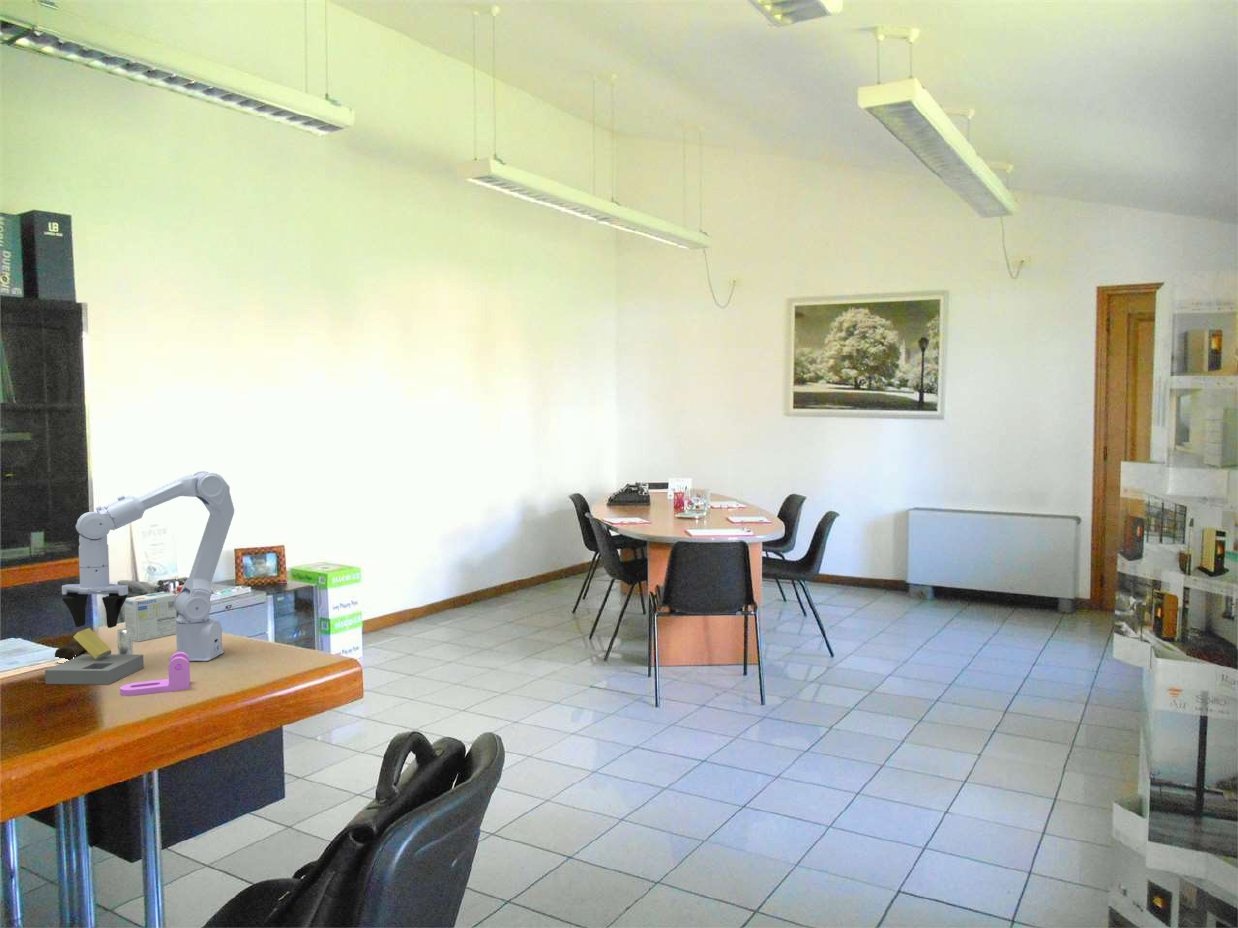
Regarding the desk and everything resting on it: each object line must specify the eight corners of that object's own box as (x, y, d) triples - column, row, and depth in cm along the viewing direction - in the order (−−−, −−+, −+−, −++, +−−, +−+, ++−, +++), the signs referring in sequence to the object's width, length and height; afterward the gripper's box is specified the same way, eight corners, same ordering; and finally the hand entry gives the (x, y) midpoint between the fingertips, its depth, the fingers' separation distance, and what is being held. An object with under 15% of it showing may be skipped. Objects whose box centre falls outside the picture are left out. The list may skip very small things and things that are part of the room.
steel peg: (136, 662, 212) (134, 628, 211) (128, 665, 209) (127, 631, 208) (123, 661, 212) (122, 628, 211) (115, 665, 209) (114, 631, 208)
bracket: (190, 682, 195) (189, 650, 195) (189, 689, 190) (188, 657, 190) (121, 690, 190) (120, 657, 190) (118, 698, 185) (117, 664, 185)
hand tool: (73, 664, 211) (72, 644, 211) (54, 664, 211) (53, 645, 210) (104, 644, 230) (103, 626, 230) (86, 645, 229) (86, 626, 229)
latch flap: (108, 656, 206) (113, 651, 205) (97, 660, 202) (102, 655, 201) (84, 632, 206) (89, 627, 205) (73, 636, 202) (77, 631, 201)
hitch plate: (143, 667, 207) (143, 654, 207) (108, 684, 194) (108, 670, 194) (84, 667, 208) (83, 654, 207) (45, 683, 195) (44, 670, 194)
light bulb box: (165, 630, 243) (163, 590, 242) (178, 634, 239) (177, 593, 238) (124, 638, 234) (122, 597, 234) (137, 642, 230) (135, 600, 230)
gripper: (50, 568, 199) (53, 629, 199) (112, 569, 197) (114, 631, 198) (73, 563, 206) (75, 622, 206) (133, 564, 204) (135, 623, 205)
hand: (96, 626), depth 203 cm, fingers open, 7 cm apart
